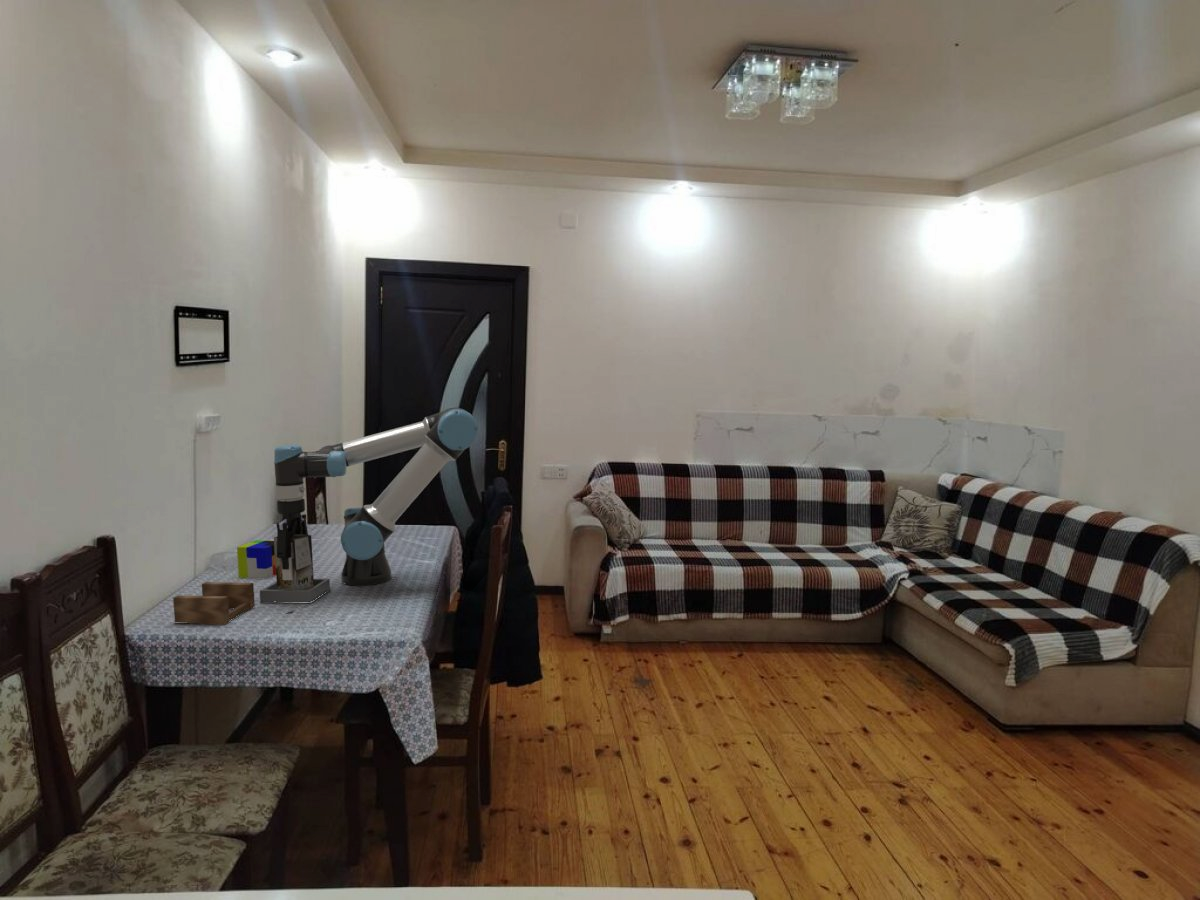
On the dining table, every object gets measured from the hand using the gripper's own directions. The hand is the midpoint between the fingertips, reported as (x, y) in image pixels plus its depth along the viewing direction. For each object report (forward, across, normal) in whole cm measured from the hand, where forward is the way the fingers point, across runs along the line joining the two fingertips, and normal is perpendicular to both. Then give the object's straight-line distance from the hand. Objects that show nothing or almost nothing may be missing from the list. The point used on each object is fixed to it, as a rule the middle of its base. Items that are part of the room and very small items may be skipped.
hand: (295, 575), depth 237 cm
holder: (+6, -18, +14) cm, 24 cm away
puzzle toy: (+7, +24, +23) cm, 34 cm away
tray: (+6, 0, 0) cm, 6 cm away
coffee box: (+4, 0, 0) cm, 4 cm away
